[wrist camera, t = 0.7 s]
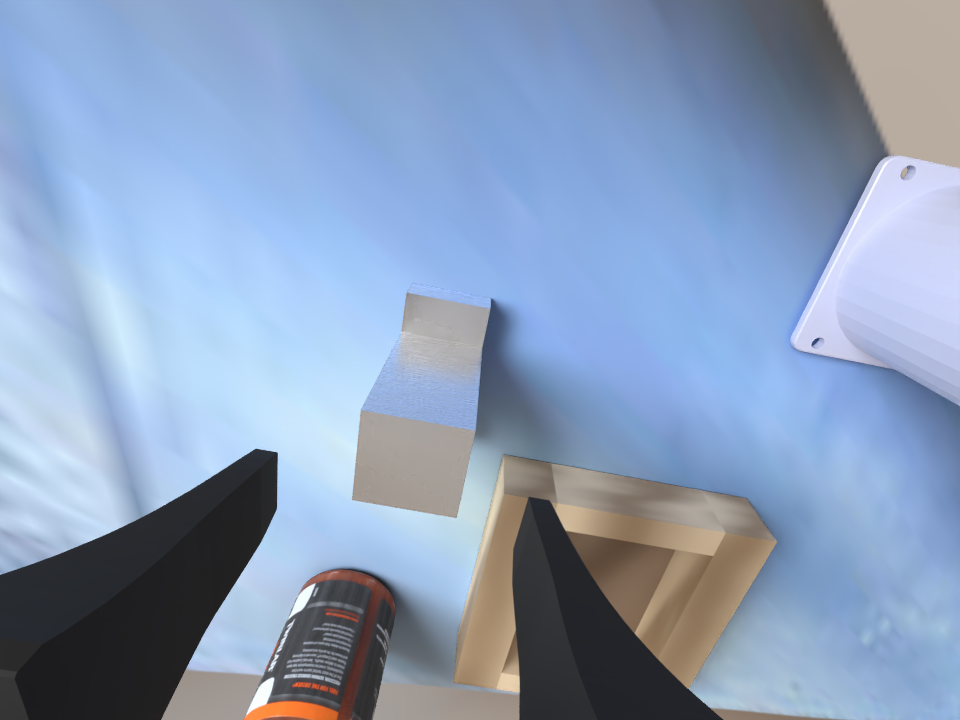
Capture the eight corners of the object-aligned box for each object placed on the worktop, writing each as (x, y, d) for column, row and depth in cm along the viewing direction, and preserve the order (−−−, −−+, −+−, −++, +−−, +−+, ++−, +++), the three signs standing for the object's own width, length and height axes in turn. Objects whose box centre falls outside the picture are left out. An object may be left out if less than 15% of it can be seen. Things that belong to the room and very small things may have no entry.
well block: (746, 498, 25) (777, 541, 22) (656, 665, 31) (671, 716, 28) (503, 454, 24) (504, 493, 22) (457, 633, 30) (453, 682, 27)
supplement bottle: (284, 573, 28) (162, 816, 18) (376, 554, 28) (302, 799, 17) (325, 638, 31) (238, 886, 20) (411, 623, 30) (365, 874, 20)
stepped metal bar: (491, 298, 21) (486, 380, 14) (463, 429, 24) (448, 555, 17) (412, 282, 21) (366, 357, 14) (394, 417, 24) (348, 538, 16)
